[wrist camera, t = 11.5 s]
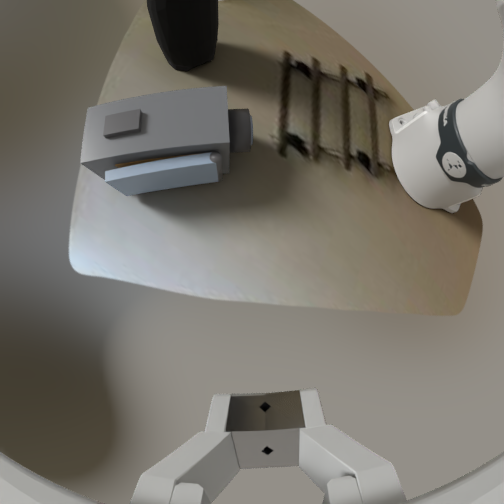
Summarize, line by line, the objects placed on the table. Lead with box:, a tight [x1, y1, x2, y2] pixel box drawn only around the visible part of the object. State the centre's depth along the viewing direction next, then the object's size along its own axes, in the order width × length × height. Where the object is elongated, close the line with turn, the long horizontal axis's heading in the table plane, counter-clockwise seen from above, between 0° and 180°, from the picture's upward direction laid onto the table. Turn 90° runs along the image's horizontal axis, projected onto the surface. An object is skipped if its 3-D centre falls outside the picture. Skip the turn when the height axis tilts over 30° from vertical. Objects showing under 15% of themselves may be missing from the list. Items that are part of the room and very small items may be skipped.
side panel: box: [105, 151, 223, 196], centre depth 30 cm, size 13×1×7 cm, turn 97°
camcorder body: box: [80, 86, 253, 180], centre depth 30 cm, size 19×7×11 cm, turn 94°
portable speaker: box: [147, 0, 218, 71], centre depth 26 cm, size 9×9×20 cm
